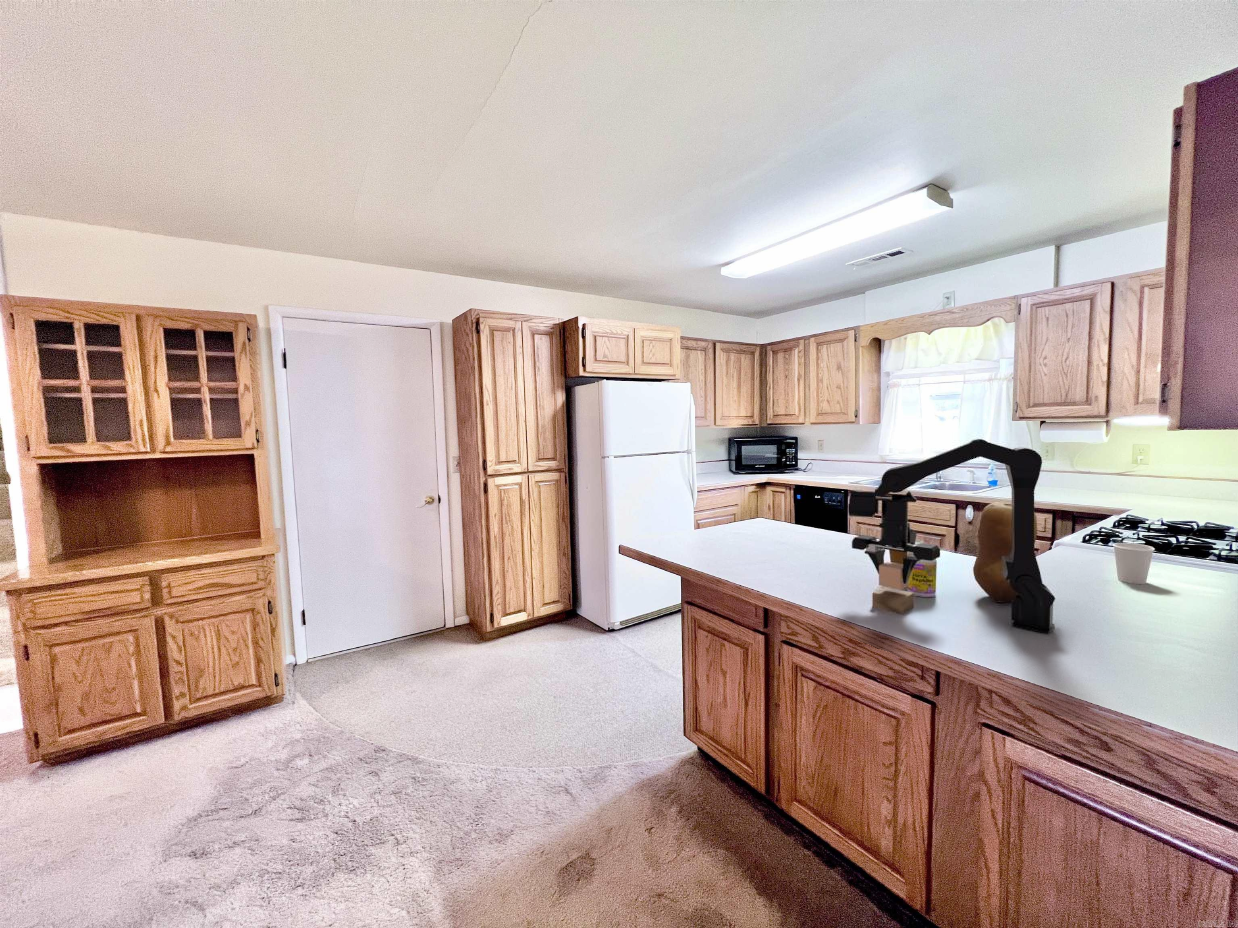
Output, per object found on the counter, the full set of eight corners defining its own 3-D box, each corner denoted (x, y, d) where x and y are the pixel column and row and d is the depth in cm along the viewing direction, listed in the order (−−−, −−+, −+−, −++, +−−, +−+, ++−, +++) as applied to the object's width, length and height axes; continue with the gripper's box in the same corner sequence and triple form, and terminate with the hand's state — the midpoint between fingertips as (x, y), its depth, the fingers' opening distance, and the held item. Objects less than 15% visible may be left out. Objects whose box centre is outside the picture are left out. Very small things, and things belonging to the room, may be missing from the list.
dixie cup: (1103, 576, 149) (1104, 542, 149) (1132, 576, 149) (1134, 542, 148) (1130, 585, 141) (1132, 549, 140) (1162, 585, 141) (1164, 549, 140)
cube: (900, 589, 124) (900, 569, 124) (878, 585, 128) (879, 565, 128) (908, 585, 128) (908, 565, 127) (887, 580, 131) (887, 561, 131)
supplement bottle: (907, 595, 136) (908, 548, 136) (906, 588, 142) (907, 542, 141) (936, 599, 133) (938, 550, 133) (935, 591, 139) (936, 545, 138)
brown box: (913, 608, 128) (913, 592, 128) (902, 615, 123) (902, 599, 123) (884, 601, 133) (884, 586, 133) (872, 608, 129) (872, 592, 128)
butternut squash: (1047, 611, 123) (1051, 508, 121) (981, 606, 127) (984, 506, 126) (1023, 594, 136) (1026, 500, 134) (964, 589, 140) (966, 499, 139)
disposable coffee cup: (879, 580, 151) (879, 539, 150) (901, 575, 155) (901, 536, 154) (909, 588, 142) (910, 546, 141) (931, 583, 146) (932, 542, 145)
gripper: (948, 519, 125) (947, 582, 126) (870, 511, 139) (869, 567, 140) (932, 525, 118) (930, 592, 119) (850, 516, 132) (850, 576, 133)
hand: (893, 581), depth 128 cm, fingers closed on cube, 5 cm apart
